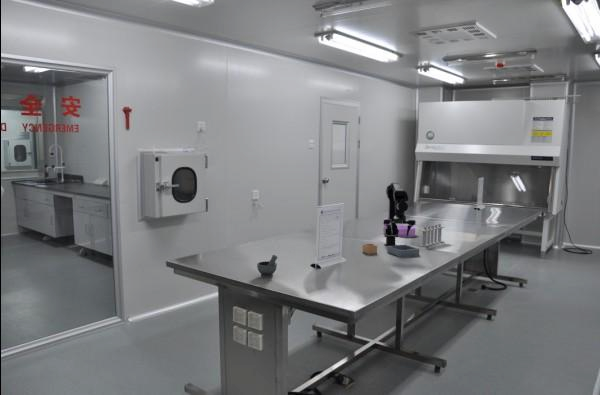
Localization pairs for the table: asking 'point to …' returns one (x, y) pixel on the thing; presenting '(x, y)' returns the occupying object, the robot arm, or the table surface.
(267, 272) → the mortar and pestle
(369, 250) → the small crate
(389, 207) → the robot arm
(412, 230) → the container set
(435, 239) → the test tube rack
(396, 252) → the large crate
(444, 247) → the table surface
